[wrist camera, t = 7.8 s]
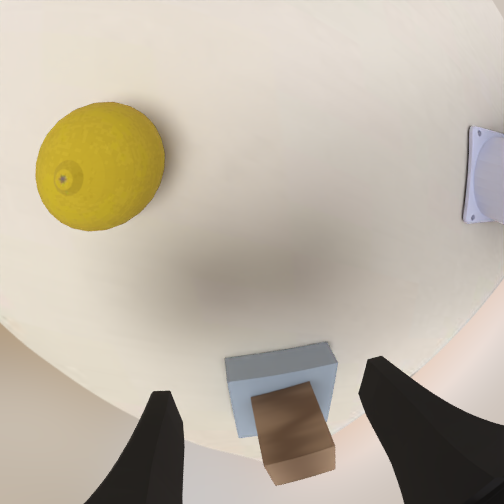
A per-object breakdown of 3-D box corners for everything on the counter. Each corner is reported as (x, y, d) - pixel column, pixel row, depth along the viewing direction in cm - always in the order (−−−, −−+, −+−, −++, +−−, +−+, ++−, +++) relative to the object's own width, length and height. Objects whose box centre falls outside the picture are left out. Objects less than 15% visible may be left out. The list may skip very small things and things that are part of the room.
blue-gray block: (324, 337, 23) (337, 362, 20) (317, 398, 26) (326, 421, 23) (224, 353, 22) (227, 381, 19) (235, 413, 25) (238, 438, 22)
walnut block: (309, 380, 20) (335, 445, 15) (314, 411, 22) (335, 469, 17) (250, 397, 20) (264, 465, 15) (262, 426, 22) (275, 485, 16)
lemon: (175, 106, 14) (146, 83, 7) (173, 203, 16) (147, 262, 9) (83, 113, 14) (0, 109, 6) (85, 205, 16) (13, 260, 8)
